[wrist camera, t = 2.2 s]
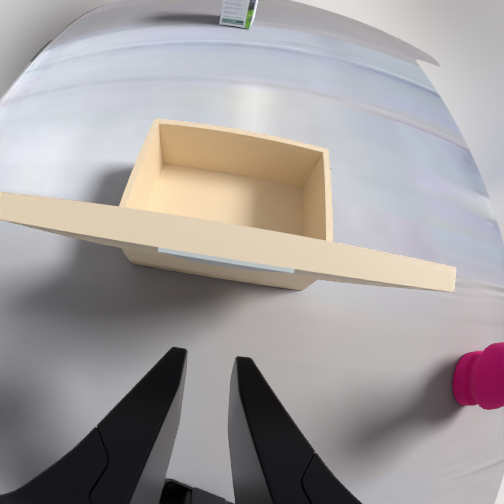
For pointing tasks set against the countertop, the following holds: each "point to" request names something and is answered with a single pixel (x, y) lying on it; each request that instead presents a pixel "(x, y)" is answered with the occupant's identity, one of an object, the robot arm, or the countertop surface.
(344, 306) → the countertop surface
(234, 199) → the carton
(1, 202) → the lid
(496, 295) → the countertop surface
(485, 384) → the pepper mill
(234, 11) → the syrup box
